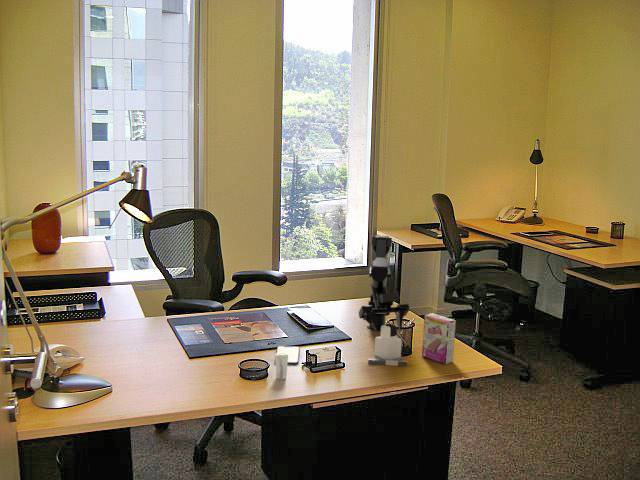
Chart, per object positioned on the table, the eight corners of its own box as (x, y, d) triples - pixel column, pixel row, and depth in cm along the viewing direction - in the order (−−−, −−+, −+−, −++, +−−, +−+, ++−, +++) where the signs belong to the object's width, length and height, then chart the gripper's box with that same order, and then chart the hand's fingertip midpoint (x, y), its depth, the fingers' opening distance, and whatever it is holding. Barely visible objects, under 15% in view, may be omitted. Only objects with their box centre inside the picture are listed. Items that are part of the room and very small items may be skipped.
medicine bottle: (388, 351, 268) (389, 321, 266) (401, 357, 263) (402, 326, 260) (374, 355, 264) (375, 324, 261) (386, 361, 258) (388, 329, 256)
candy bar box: (421, 356, 265) (423, 315, 261) (429, 353, 268) (431, 312, 265) (445, 365, 257) (448, 322, 253) (453, 362, 260) (456, 319, 257)
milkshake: (272, 375, 243) (272, 347, 241) (287, 375, 243) (288, 347, 241) (272, 380, 238) (272, 352, 236) (288, 380, 239) (288, 352, 237)
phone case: (298, 366, 253) (300, 350, 269) (298, 362, 253) (300, 346, 268) (274, 366, 253) (276, 349, 269) (274, 362, 253) (276, 345, 268)
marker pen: (368, 362, 258) (368, 357, 257) (406, 364, 256) (407, 359, 256) (368, 363, 256) (368, 359, 255) (407, 366, 255) (407, 361, 254)
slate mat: (374, 351, 268) (375, 351, 268) (400, 353, 267) (400, 352, 267) (374, 361, 259) (374, 360, 259) (400, 362, 258) (400, 361, 258)
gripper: (362, 284, 260) (370, 322, 252) (409, 282, 265) (419, 319, 257) (355, 299, 269) (362, 336, 261) (400, 296, 274) (409, 333, 266)
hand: (388, 331), depth 261 cm, fingers open, 9 cm apart
